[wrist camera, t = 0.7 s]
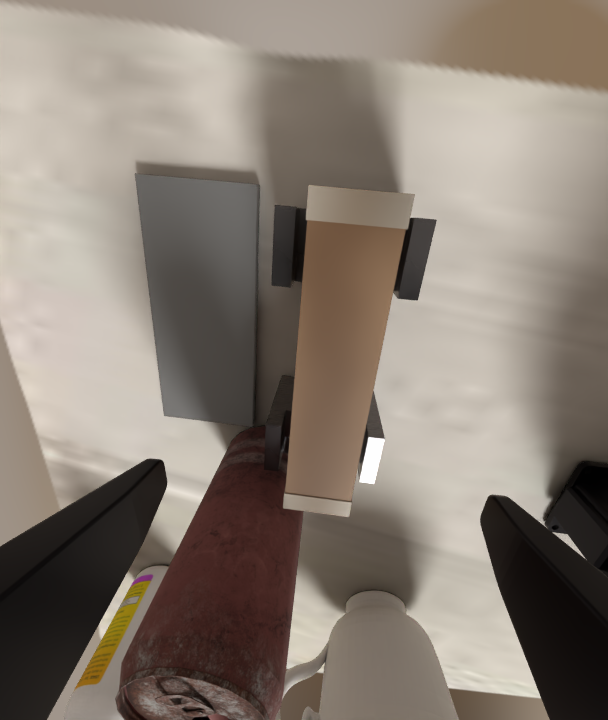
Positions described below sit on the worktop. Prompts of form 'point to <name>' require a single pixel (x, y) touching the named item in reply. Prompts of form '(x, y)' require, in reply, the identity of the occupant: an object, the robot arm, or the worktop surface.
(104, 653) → the supplement bottle
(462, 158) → the worktop surface
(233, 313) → the mat
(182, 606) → the can
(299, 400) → the rail
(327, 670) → the teacup
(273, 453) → the post
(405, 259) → the post
